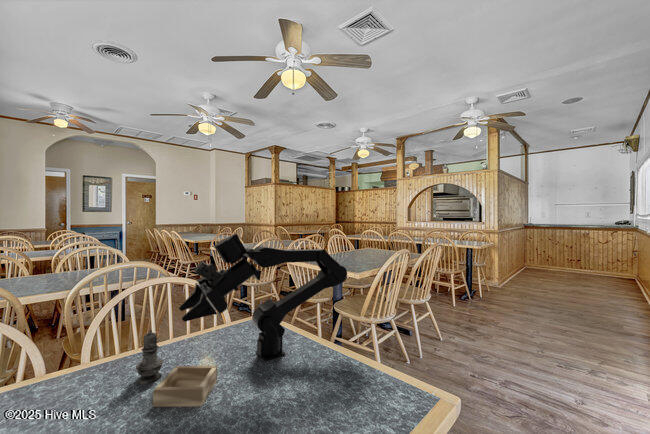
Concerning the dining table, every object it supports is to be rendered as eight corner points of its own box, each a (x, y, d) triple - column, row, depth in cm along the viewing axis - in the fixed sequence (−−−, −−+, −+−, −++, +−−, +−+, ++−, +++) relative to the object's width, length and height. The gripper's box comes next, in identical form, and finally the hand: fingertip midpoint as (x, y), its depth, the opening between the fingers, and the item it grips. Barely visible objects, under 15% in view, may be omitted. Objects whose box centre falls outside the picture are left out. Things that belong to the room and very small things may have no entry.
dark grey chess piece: (150, 386, 68) (151, 335, 68) (129, 383, 69) (130, 332, 70) (168, 373, 74) (169, 326, 74) (148, 370, 75) (149, 324, 75)
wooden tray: (175, 380, 71) (175, 366, 71) (217, 380, 71) (217, 365, 71) (152, 406, 61) (153, 389, 61) (201, 406, 61) (201, 389, 61)
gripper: (212, 249, 87) (161, 282, 80) (225, 257, 70) (162, 299, 64) (232, 279, 90) (185, 313, 83) (249, 293, 73) (192, 336, 67)
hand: (181, 314), depth 74 cm, fingers open, 9 cm apart
